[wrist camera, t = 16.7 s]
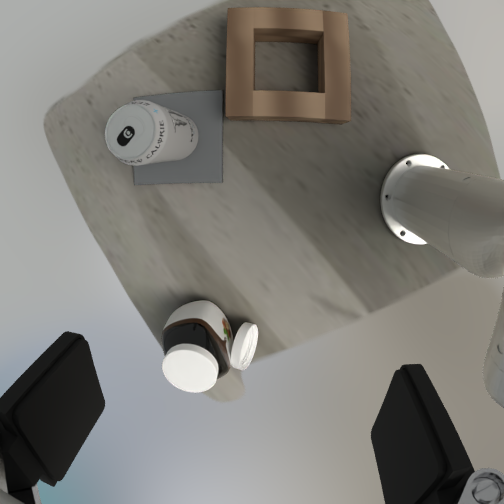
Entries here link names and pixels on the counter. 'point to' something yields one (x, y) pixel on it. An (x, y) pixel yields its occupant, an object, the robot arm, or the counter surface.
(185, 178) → the rubber mat
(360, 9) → the counter surface
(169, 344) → the spread jar
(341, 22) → the walnut frame
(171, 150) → the energy drink can
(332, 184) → the counter surface
